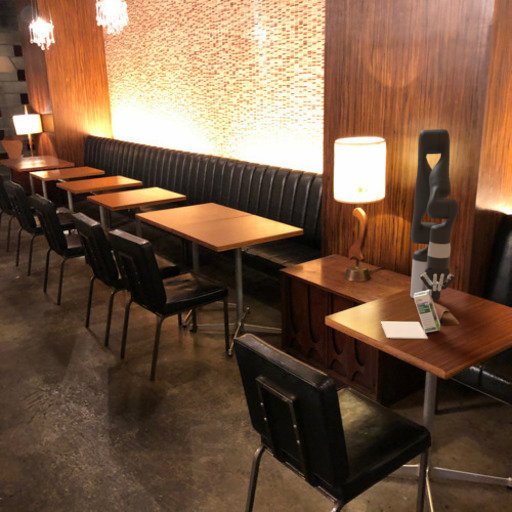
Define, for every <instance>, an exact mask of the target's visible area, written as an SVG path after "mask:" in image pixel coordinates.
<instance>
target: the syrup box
mask: <svg viewBox="0 0 512 512" xmlns="http://www.w3.org/2000/svg"><path fill="white" fill-rule="evenodd" d="M413 300H414V303H415V306H416V309H417V312H418V315H419V318H420V322H421V326H422V329H423V330H424V332H425V334H427V333H433V332H437V331H441V324H440V322H439V319H438V316H437V312H436V309H435V306H434V303H435V302H434V300H433V299H432V298H431V293H430V290H427V291H422V292H418V293H415V294H414V298H413ZM433 302H434V303H433Z"/></svg>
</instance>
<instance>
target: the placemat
mask: <svg viewBox="0 0 512 512" xmlns="http://www.w3.org/2000/svg"><path fill="white" fill-rule="evenodd" d="M380 324H382V325H381V327H382V330H383V332H384V335H385V337H386V339H388V340H389V338H390V339H394V340H395V339H397V340H401V339H403V340H404V339H406V340H428V338H429V337H428V336H427V333H425V332H424V329H423V326H422V324H421V323H420V321H387V320H386V321H380Z"/></svg>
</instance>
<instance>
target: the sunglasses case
mask: <svg viewBox="0 0 512 512" xmlns="http://www.w3.org/2000/svg"><path fill="white" fill-rule="evenodd" d="M433 303H434V306H435V309H436V312H437V316H438V319H439V322H440V326H442V325H459V324H460V322H459V320H458V319H457V318H456V317H455V316H454V314H452V313H451V311H450V309H448V308H447V307H445V306H443V305H441V304H440V303H437V302H434V301H433Z"/></svg>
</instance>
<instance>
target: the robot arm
mask: <svg viewBox="0 0 512 512" xmlns="http://www.w3.org/2000/svg"><path fill="white" fill-rule="evenodd" d="M450 137H451V136H450V133H449V131H448V130H447V129H443V128H437V129H436V128H435V129H432V128H431V129H422V130H421V131H420V132H419V135H418V141H417V142H418V145H417V170H416V178H415V179H416V180H415V189H414V190H415V191H414V206H413V207H414V209H413V214H412V215H413V216H412V222H411V228H410V229H411V230H410V241H411V242H412V243H413V244H417V245H427V246H425V247H424V248H422V249H417V250H415V251H414V252H413V253H412V264H411V265H412V267H411V281H410V295H409V296H410V298H412V299H414V294H415V293H418V292H422V291H427V290H430V293H431V298H432V300H433V302H434V301H439V300H440V298H441V292H442V291H443V290H446V289H447V288H448V287H449V286H450V285H451V284H452V283H453V282H454V281H455V280H456V276H455V275H454V274H453V273H451V272H450V258H451V238H452V232H453V231H452V230H453V226H454V223H455V221H456V218H457V215H458V214H459V210H460V208H459V207H460V205H459V202H458V201H457V200H456V199H454V198H448V197H449V196H450V195H451V192H452V189H451V188H452V187H451V180H450V159H451V158H450V157H451V156H450V153H451V152H450V151H451V145H450V144H451V139H450ZM427 155H440V157H439V158H438V161H437V162H436V164H435V165H434V166H433V168H432V167H431V165H430V164H429V162H428V158H427ZM426 214H427V216H428V217H429V218H430V219H432V220H434V219H436V220H444V221H443V222H441V223H439V224H437V223H436V222H426V221H425V222H424V221H423V222H422V220H423V218H424V216H425V215H426Z"/></svg>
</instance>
